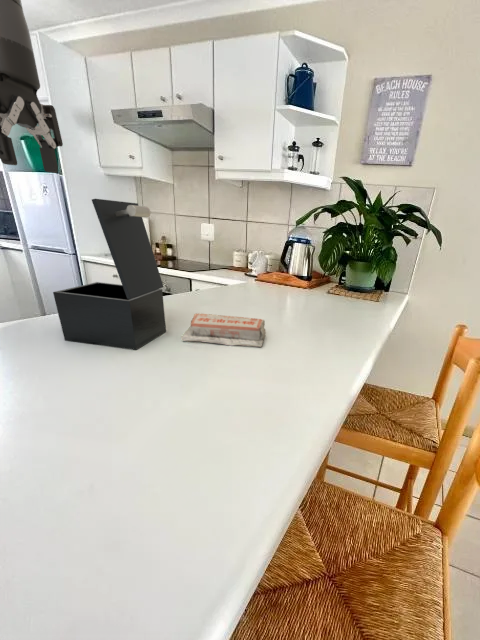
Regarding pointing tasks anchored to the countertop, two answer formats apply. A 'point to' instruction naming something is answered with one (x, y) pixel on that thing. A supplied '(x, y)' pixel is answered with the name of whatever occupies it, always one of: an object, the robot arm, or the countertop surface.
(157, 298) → the bin
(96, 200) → the bin lid
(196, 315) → the packaged product
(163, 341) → the countertop surface
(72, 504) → the countertop surface
